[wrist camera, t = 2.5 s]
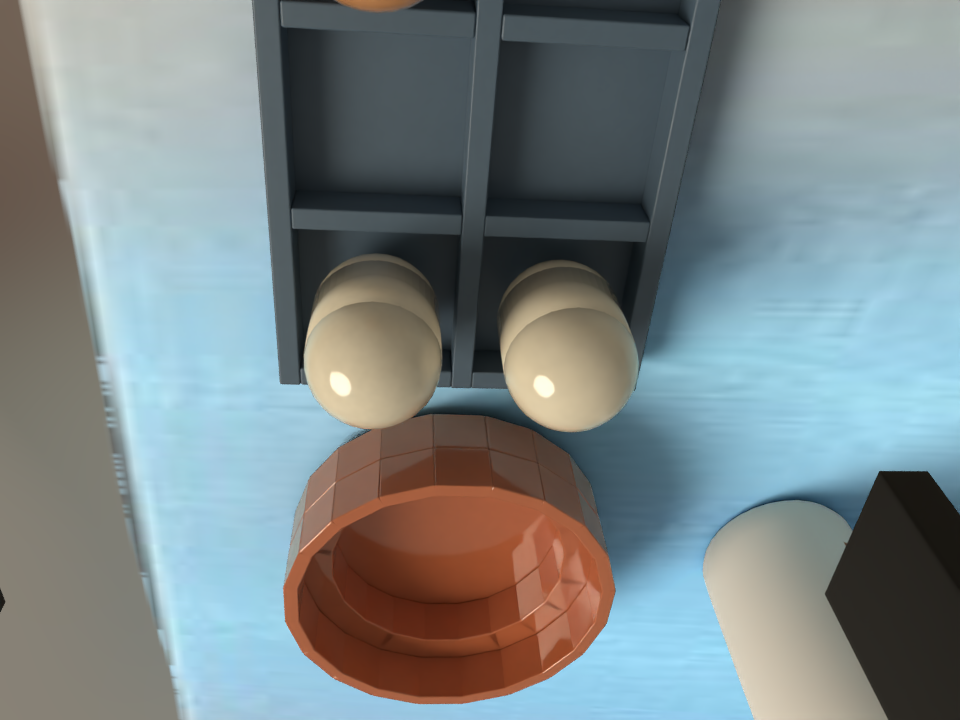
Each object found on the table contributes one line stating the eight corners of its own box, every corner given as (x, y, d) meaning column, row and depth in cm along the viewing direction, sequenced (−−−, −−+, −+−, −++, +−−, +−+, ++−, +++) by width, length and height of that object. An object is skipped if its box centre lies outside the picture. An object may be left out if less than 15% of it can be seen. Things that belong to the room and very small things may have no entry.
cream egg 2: (575, 214, 32) (615, 321, 25) (627, 304, 34) (675, 421, 28) (469, 273, 33) (483, 390, 27) (527, 356, 35) (552, 480, 29)
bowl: (501, 354, 35) (512, 430, 31) (641, 548, 43) (665, 631, 39) (233, 495, 39) (212, 580, 35) (405, 652, 46) (405, 738, 42)
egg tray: (749, -234, 24) (773, -234, 23) (625, 363, 36) (635, 391, 34) (243, -282, 23) (230, -285, 21) (286, 356, 35) (279, 384, 33)
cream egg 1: (394, 207, 31) (390, 315, 25) (460, 299, 33) (471, 418, 27) (293, 268, 32) (265, 386, 26) (363, 352, 34) (353, 478, 28)
